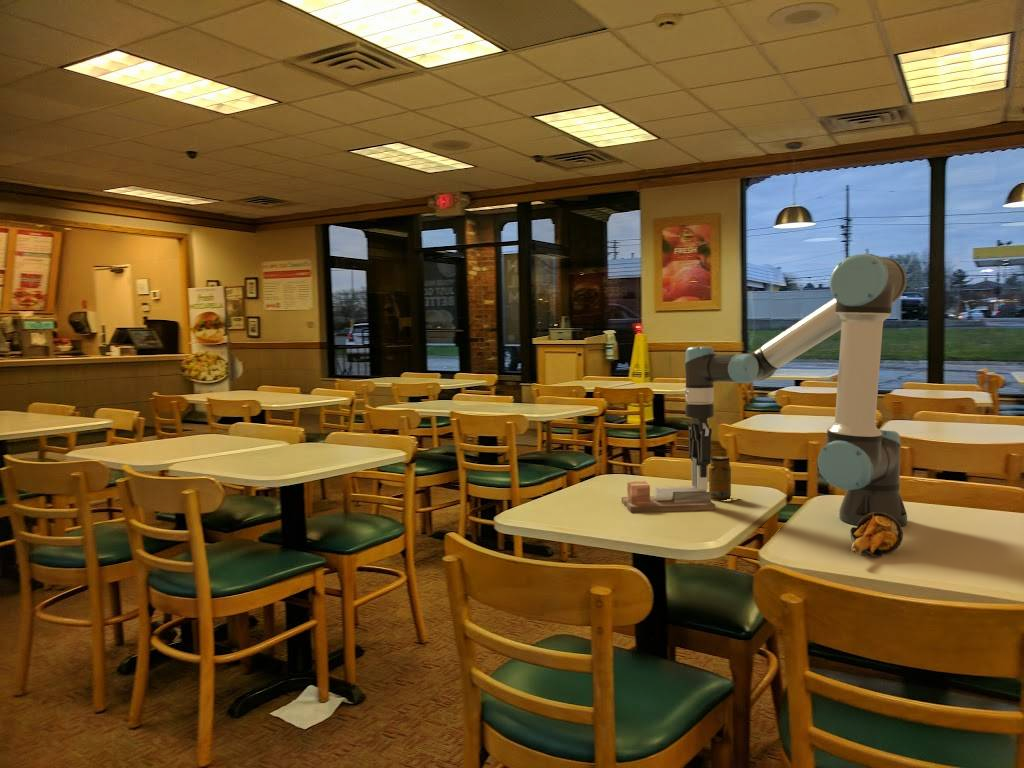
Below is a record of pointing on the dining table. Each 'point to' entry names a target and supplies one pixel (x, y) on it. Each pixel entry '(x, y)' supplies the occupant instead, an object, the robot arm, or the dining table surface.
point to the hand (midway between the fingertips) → (699, 486)
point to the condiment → (720, 478)
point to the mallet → (669, 491)
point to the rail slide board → (664, 500)
